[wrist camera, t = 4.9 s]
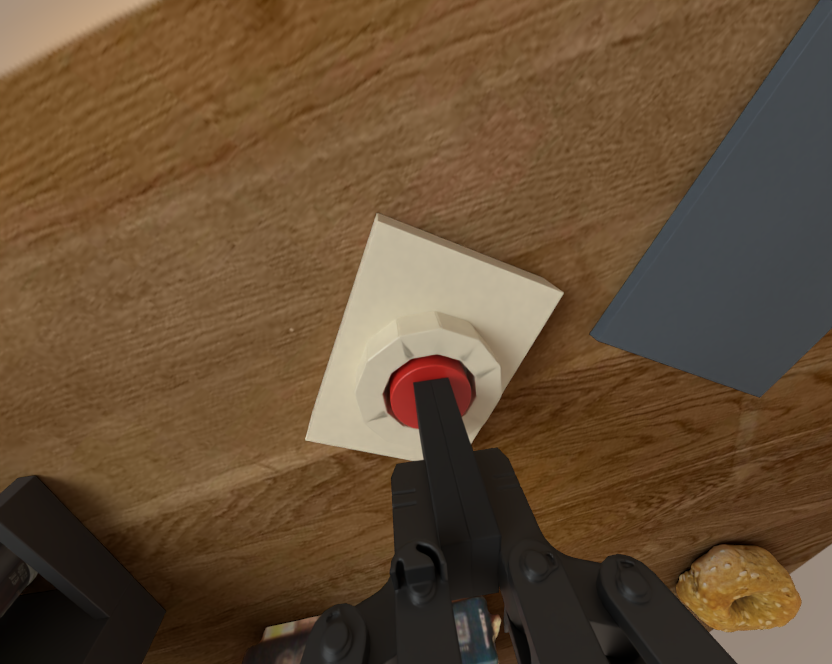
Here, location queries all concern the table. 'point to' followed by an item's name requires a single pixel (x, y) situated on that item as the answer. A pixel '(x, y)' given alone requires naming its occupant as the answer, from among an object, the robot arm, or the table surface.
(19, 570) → the coffee can
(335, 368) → the switch block
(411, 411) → the power button
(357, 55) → the table surface
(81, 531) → the footed upright panel
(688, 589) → the bagel
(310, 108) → the table surface
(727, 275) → the mat
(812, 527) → the table surface
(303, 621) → the stack of books
